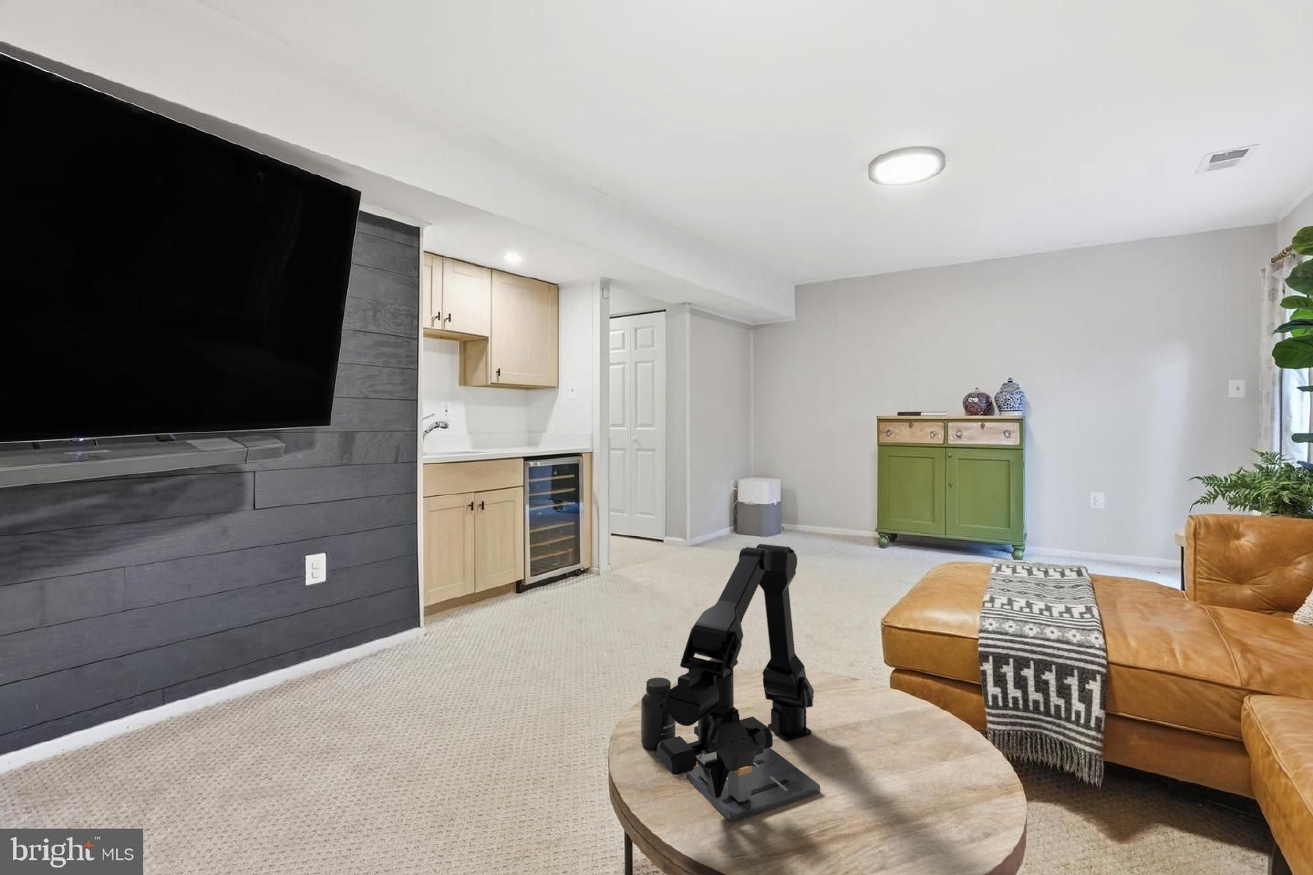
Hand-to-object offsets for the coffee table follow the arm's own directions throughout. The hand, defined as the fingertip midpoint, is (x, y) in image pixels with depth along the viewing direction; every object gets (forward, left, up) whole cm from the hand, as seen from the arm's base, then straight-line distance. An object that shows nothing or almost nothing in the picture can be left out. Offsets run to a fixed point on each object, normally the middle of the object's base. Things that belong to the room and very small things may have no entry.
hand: (716, 796), depth 95 cm
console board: (-9, -3, -2) cm, 10 cm away
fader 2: (-4, 0, -1) cm, 5 cm away
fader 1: (-3, -7, -1) cm, 7 cm away
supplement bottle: (-1, -23, -3) cm, 24 cm away
